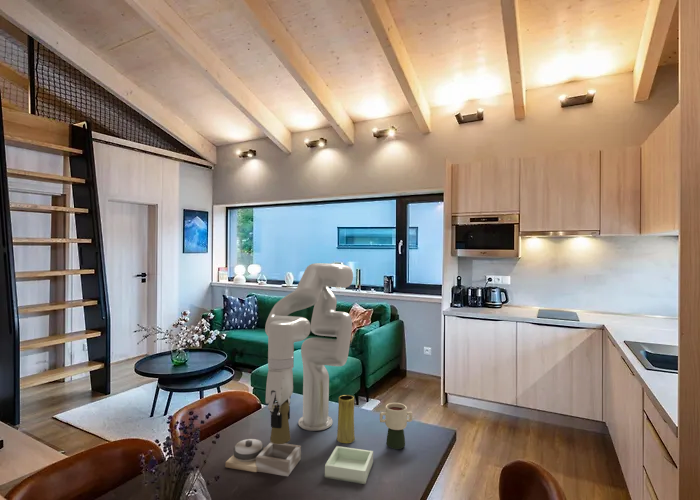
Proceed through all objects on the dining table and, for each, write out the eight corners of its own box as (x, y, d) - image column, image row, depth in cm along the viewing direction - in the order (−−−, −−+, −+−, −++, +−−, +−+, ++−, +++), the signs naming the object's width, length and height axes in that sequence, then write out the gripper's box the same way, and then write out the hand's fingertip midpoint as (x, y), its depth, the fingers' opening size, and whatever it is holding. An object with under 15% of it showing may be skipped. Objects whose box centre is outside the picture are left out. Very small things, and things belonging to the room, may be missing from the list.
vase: (357, 437, 136) (357, 395, 136) (351, 445, 130) (351, 401, 131) (340, 434, 138) (341, 393, 138) (334, 442, 132) (334, 399, 133)
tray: (336, 457, 122) (336, 446, 123) (373, 462, 120) (373, 451, 120) (324, 477, 111) (324, 465, 111) (365, 484, 108) (365, 471, 108)
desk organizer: (244, 449, 127) (244, 432, 127) (301, 458, 122) (301, 440, 122) (225, 467, 116) (225, 448, 116) (287, 477, 111) (287, 457, 111)
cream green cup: (409, 440, 134) (409, 402, 134) (414, 451, 127) (415, 410, 127) (377, 441, 133) (378, 402, 133) (381, 452, 126) (381, 411, 126)
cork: (286, 445, 115) (286, 407, 115) (266, 442, 116) (267, 405, 116) (293, 435, 121) (293, 399, 121) (274, 433, 122) (275, 397, 122)
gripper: (281, 354, 127) (280, 410, 128) (255, 370, 111) (255, 434, 111) (303, 355, 126) (302, 412, 126) (280, 372, 109) (280, 438, 109)
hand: (280, 422), depth 118 cm, fingers closed on cork, 5 cm apart
